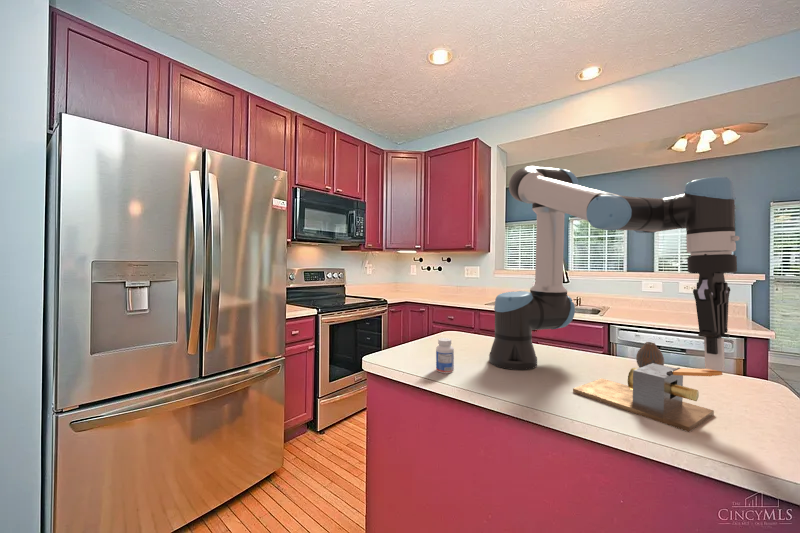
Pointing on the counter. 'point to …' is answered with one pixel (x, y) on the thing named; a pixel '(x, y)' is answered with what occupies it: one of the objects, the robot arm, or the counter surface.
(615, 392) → the hitch block
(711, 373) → the orange rod
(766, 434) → the counter surface
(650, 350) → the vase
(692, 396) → the lynch pin
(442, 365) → the pill bottle
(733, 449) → the counter surface
